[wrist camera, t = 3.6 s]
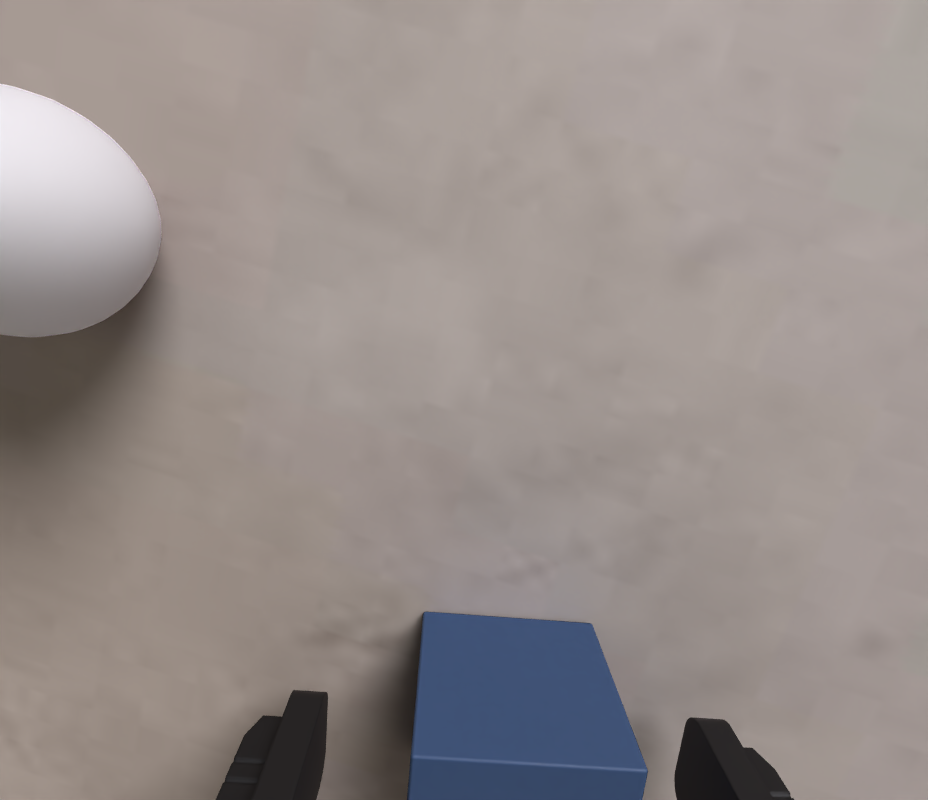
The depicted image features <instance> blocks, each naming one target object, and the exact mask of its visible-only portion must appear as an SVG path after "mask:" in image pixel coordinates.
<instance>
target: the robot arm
mask: <svg viewBox="0 0 928 800" xmlns="http://www.w3.org/2000/svg"><path fill="white" fill-rule="evenodd" d="M327 707H328V694H327V692H314V691H299V690H294V691H293V692H292V693H291V695H290V698H289V700H288V703H287V706H286V708H285V711H284V714H283V716H282V717H278V716H262V718H261V719H260V720H259V721H258V722H257V723H256V724H255V725H254V726H253V727H252V728H251V729H250V730H249V731H248V732H247V733H246V734H245V735H244V737H243V740H242V742H241V744H240V746H239V749H238V751H237V753H236V755H235V758H234V762H233V763H232V764H231V766H230V769H229V771H228V773H227V775H226V778H225V782H224V783H223V784H222V787H221V789H220V791H219V793H218V796H217V798H216V800H316V799H317V795H318V791H319V787H320V783H321V778H322V773H323V768H324V761H325V752H326V731H327ZM675 792H676V797H677V800H794V799H793V798H791V796H790V792H789V791H788V789H787V788H786V786H785V785H784V783H783V781H782V780H781V778H780V777H779V775H778V773H777V772H776V770H775V769H774V768H773V767H772V766H771V765H770V764H769V763H768V762H767V761H765V760H764V759H763V758H762V757H761V756H760V755H759V754H758V753H757V752H756V751H755V750H754V749H753V748H743V746H742V745H741V743H740V741H739V740H738V738H737V736H736V735H735V733H734V731H733V730H732V728H731V726H730V725H729V724H728V723H727V722H726V721H725V720H721V719H706V718H689V719H688V720H687V722H686V725H685V729H684V733H683V738H682V743H681V747H680V752H679V756H678V761H677V765H676V770H675Z"/></svg>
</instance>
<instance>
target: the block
mask: <svg viewBox="0 0 928 800" xmlns="http://www.w3.org/2000/svg"><path fill="white" fill-rule="evenodd" d="M647 773H648V770H647V767H646V765H645V762H644V759H643V757H642V754H641V752H640V749H639V746H638V744H637V741H636V738H635V736H634V733H633V731H632V728H631V725H630V723H629V720H628V717H627V715H626V712H625V710H624V707H623V704H622V702H621V699H620V696H619V694H618V691H617V689H616V686H615V683H614V681H613V678H612V676H611V673H610V670H609V668H608V665H607V662H606V660H605V657H604V655H603V652H602V649H601V647H600V644H599V641H598V639H597V636H596V634H595V631H594V628H593V626H592V624H590V623H578V622H564V621H550V620H536V619H522V618H508V617H493V616H479V615H465V614H451V613H437V612H424V614H423V622H422V633H421V645H420V656H419V667H418V679H417V690H416V701H415V713H414V724H413V736H412V747H411V758H410V770H409V782H408V794H407V800H642V797H643V793H644V788H645V783H646V778H647Z"/></svg>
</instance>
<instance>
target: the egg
mask: <svg viewBox="0 0 928 800" xmlns="http://www.w3.org/2000/svg"><path fill="white" fill-rule="evenodd" d="M161 239H162V238H161V217H160V213H159V209H158V205H157V201H156V199H155V196H154V194H153V192H152V190H151V188H150V186H149V184H148V182H147V180H146V178H145V177H144V175H143V174H142V173H141V171H140V170H139V168H138V167H137V165H136V164H135V163H134V161H133V160H132V158H131V157H130V156H129V155H128V154H127V153H126V152H125V151H124V150H123V149H122V148H121V147H120V146H119V145H118V144H117V142H116V141H115V140H113V139H112V138H111V137H110V136H109V135H108V134H106V133H105V132H104V131H103V130H101V129H100V128H99V127H98V126H96V125H95V124H94V123H92V122H91V121H90V120H88V119H87V118H85V117H84V116H82V115H80V114H78V113H77V112H75V111H73V110H71V109H70V108H68V107H66V106H64V105H62V104H61V103H59V102H56V101H54V100H52V99H50V98H47V97H44V96H41V95H38V94H35V93H33V92H30V91H27V90H24V89H21V88H17V87H14V86H10V85H5V84H0V335H9V336H19V337H44V336H52V335H59V334H66V333H72V332H76V331H79V330H82V329H84V328H87V327H89V326H92V325H95V324H97V323H99V322H102V321H104V320H105V319H107V318H108V317H110V316H111V315H113V314H114V313H116V312H117V311H119V310H120V309H122V308H123V307H124V306H125V305H126V304H127V303H128V302H129V301H130V300H131V299H132V298H133V297H134V296H135V295H136V294H137V293H138V292H139V291H140V290H141V288H142V287H143V285H144V284H145V282H146V281H147V279H148V278H149V276H150V275H151V272H152V270H153V268H154V265H155V263H156V261H157V258H158V254H159V249H160V244H161Z"/></svg>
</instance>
